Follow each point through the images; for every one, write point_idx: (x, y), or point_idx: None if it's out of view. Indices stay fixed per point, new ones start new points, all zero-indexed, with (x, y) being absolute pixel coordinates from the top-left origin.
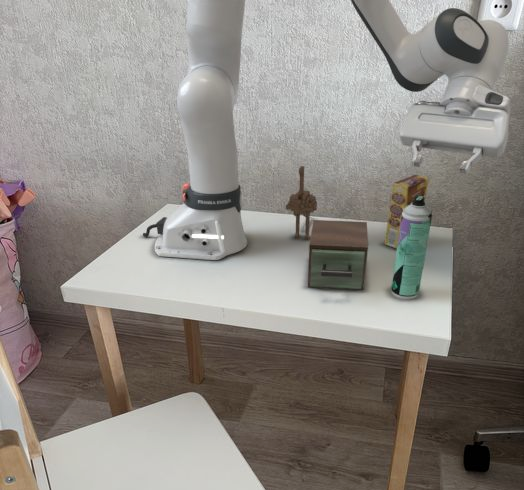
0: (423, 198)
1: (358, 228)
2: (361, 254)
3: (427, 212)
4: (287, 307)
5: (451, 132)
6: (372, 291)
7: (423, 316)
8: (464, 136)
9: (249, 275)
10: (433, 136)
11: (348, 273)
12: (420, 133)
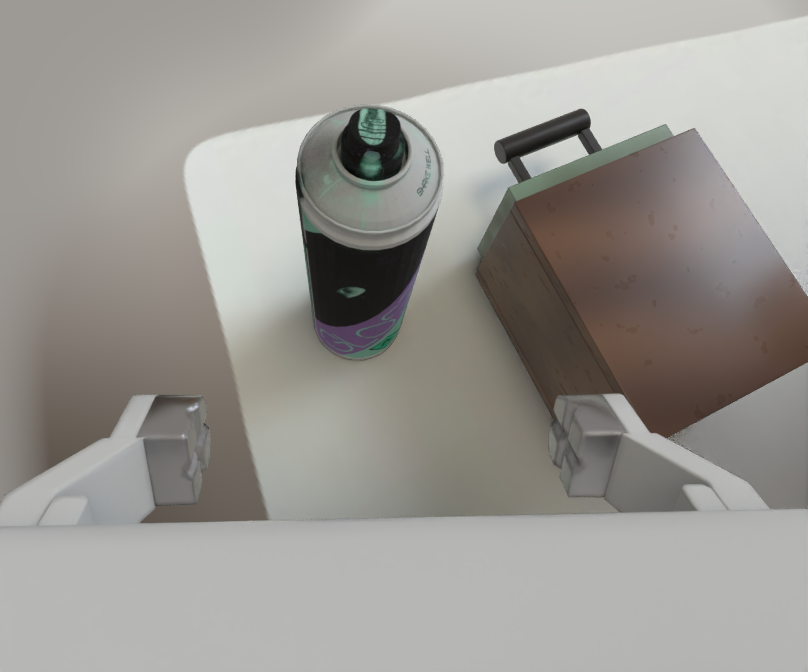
0: (350, 121)
1: (640, 354)
2: (517, 185)
3: (312, 141)
4: (595, 96)
5: (404, 619)
6: (448, 281)
7: (260, 218)
8: (195, 586)
9: (795, 194)
10: (600, 531)
11: (508, 136)
12: (782, 538)
